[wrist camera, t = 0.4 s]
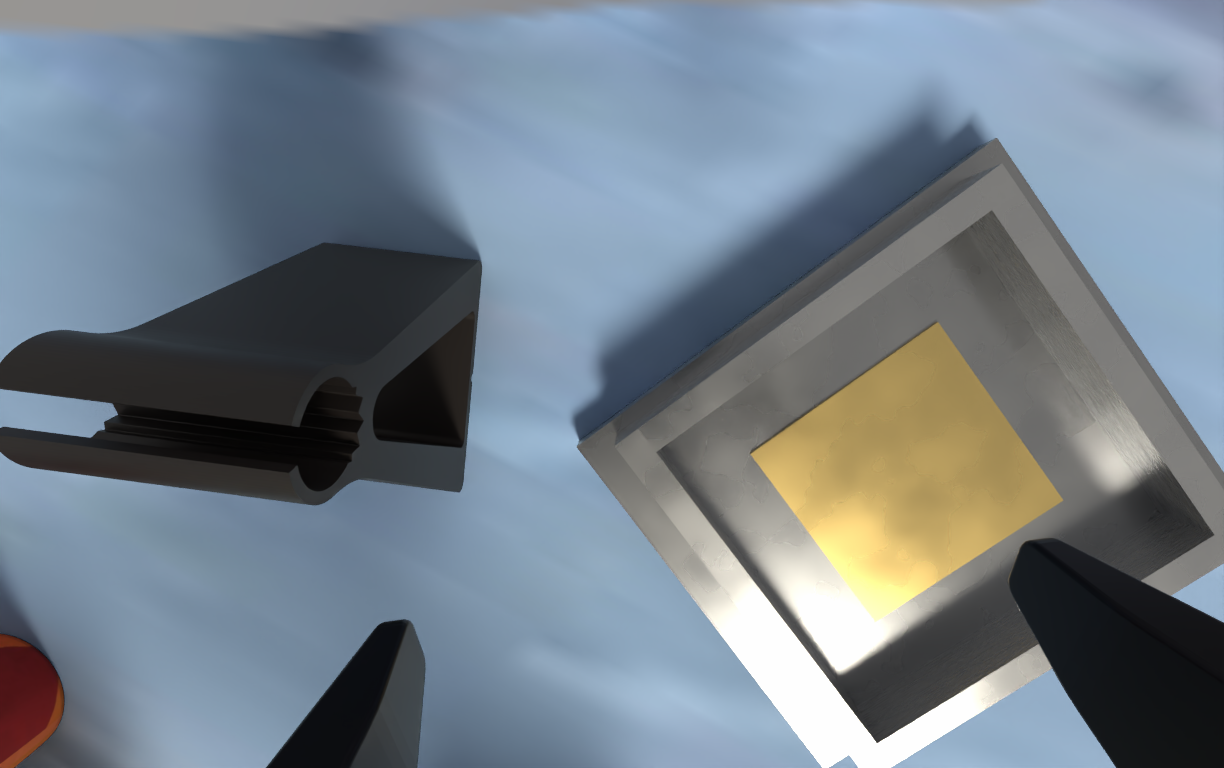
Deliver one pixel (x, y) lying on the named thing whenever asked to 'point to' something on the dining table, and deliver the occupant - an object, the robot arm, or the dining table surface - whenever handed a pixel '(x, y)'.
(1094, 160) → the dining table surface
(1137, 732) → the robot arm
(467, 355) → the phone stand
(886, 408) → the square tray
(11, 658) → the paper cup
